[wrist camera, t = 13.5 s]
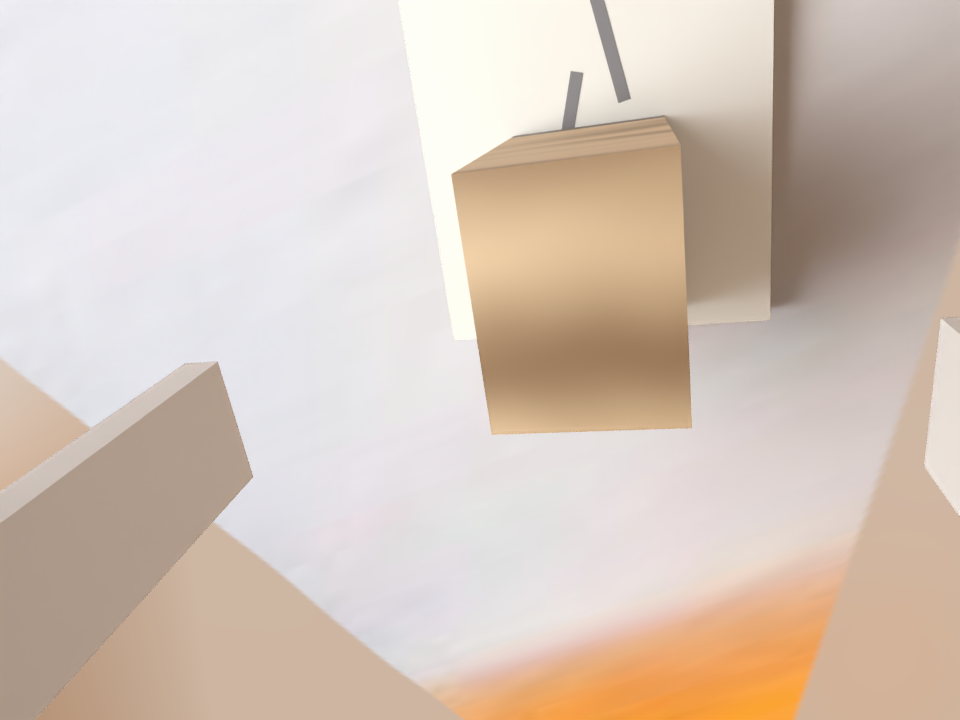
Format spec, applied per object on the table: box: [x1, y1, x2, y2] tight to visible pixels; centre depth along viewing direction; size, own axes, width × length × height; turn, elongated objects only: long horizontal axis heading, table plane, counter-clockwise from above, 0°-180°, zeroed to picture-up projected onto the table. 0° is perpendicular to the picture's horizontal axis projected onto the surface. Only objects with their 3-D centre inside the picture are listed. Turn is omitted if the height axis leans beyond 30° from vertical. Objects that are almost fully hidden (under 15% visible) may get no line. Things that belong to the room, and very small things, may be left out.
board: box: [398, 0, 774, 340], centre depth 28 cm, size 24×14×2 cm, turn 8°
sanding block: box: [451, 115, 692, 435], centre depth 25 cm, size 8×6×11 cm
